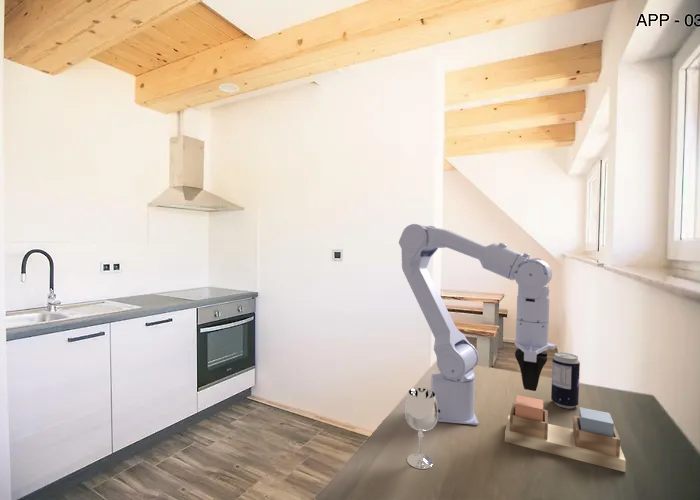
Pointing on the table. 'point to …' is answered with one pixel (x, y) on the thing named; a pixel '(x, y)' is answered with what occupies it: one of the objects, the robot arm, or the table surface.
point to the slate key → (596, 422)
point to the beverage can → (565, 380)
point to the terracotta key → (529, 408)
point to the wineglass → (421, 420)
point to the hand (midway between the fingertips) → (530, 388)
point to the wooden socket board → (565, 441)
